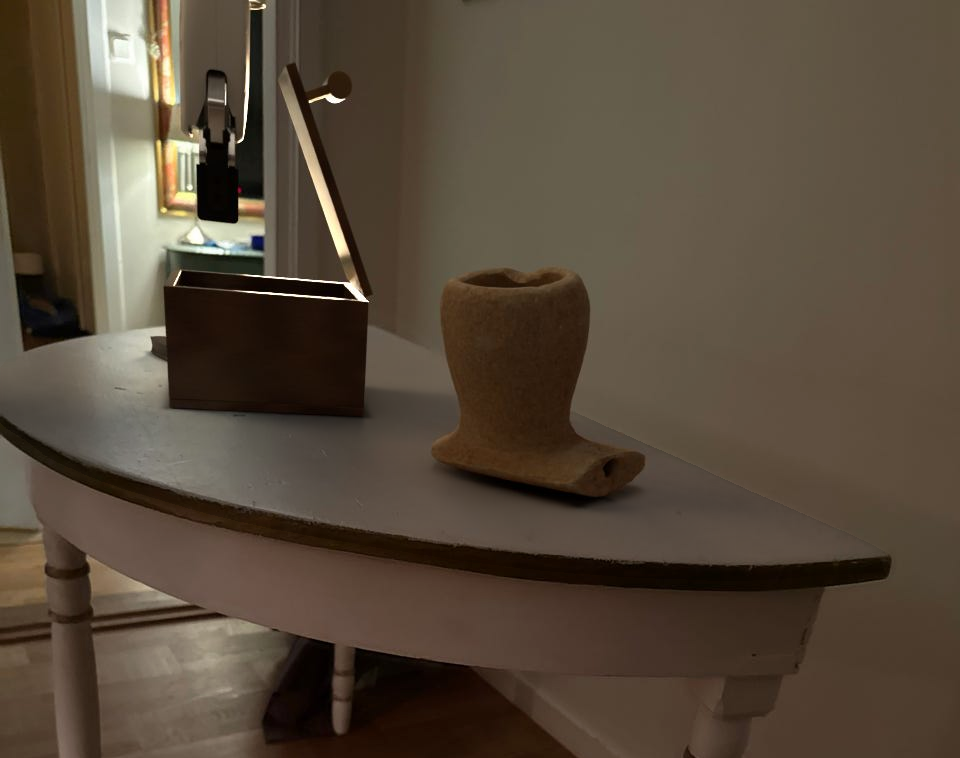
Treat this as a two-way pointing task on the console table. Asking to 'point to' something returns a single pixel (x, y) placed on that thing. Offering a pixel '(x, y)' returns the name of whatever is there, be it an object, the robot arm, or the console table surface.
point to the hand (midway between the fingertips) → (218, 218)
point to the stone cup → (523, 382)
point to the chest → (265, 344)
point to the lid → (324, 163)
